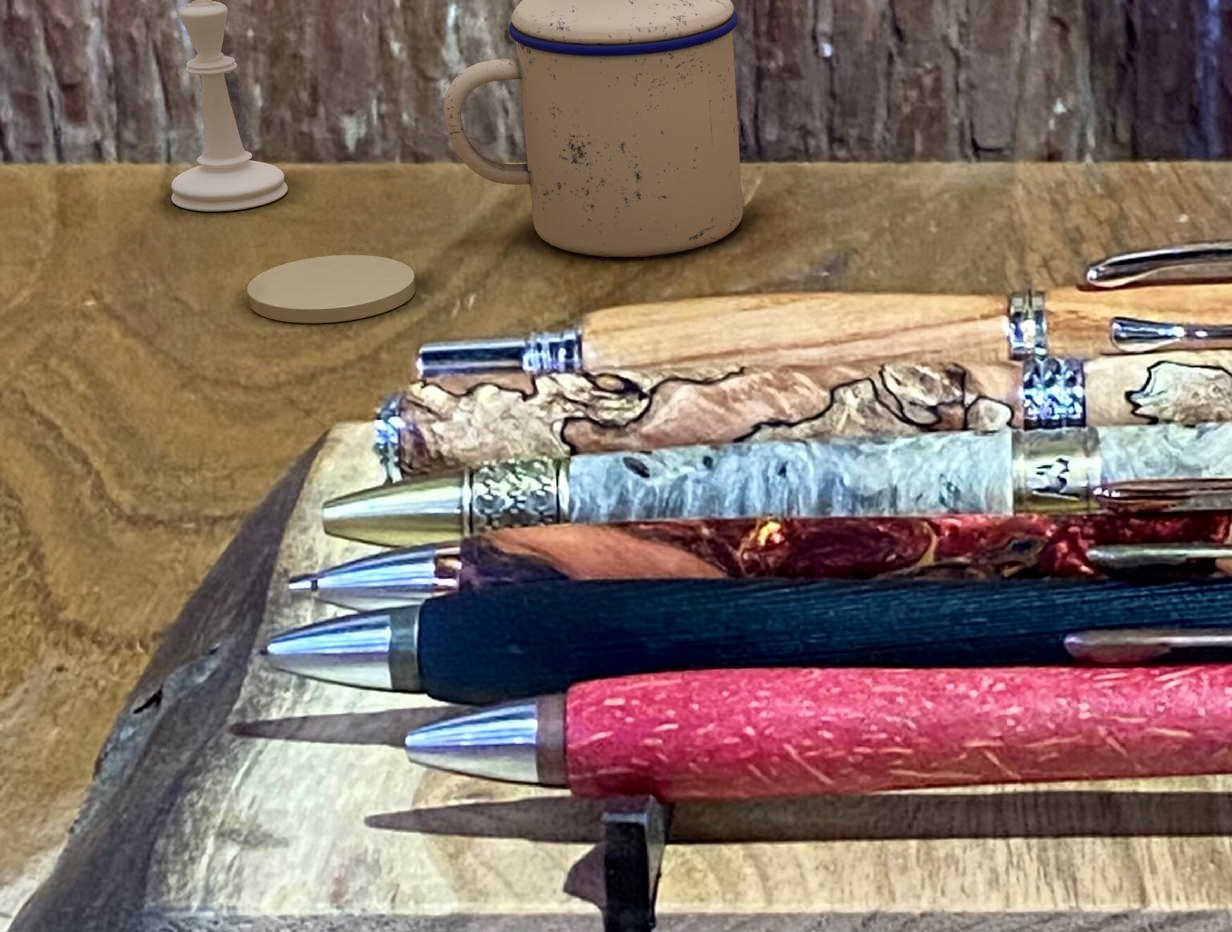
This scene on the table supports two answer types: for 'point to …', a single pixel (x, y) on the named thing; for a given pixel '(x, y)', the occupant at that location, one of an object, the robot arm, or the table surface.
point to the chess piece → (220, 128)
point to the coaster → (331, 289)
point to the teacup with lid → (619, 123)
